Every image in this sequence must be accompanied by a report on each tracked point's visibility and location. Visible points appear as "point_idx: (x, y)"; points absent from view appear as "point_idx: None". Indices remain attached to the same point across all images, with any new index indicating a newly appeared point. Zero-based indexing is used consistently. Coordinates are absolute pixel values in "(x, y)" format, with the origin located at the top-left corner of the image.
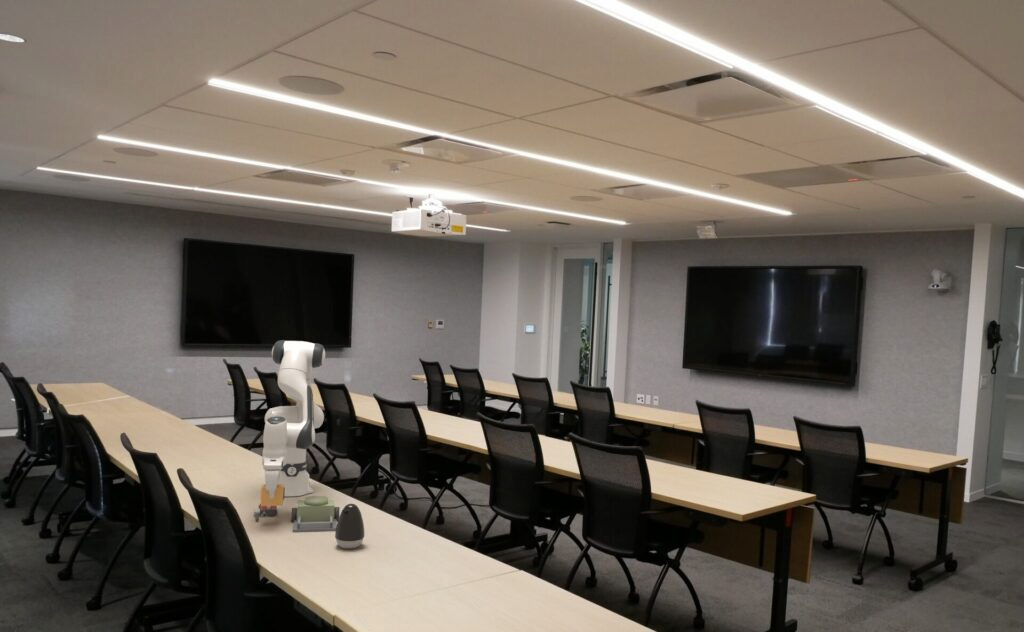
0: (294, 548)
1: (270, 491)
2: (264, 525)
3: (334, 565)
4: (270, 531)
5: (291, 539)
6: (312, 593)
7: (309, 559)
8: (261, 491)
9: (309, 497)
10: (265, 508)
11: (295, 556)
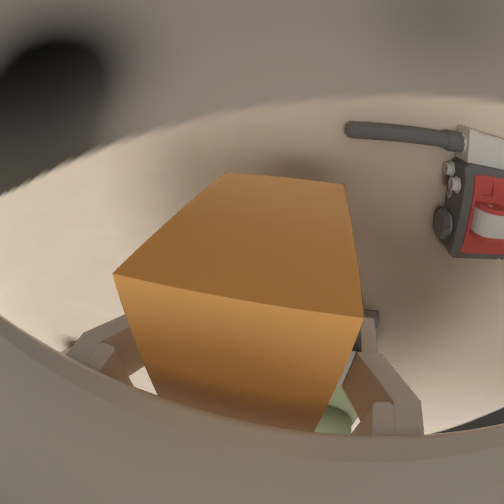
0: (45, 265)
1: (106, 334)
2: (273, 168)
3: (17, 310)
4: (169, 199)
5: (95, 267)
6: None
7: (17, 282)
8: (150, 239)
9: (330, 431)
10: (484, 201)
11: (17, 260)
